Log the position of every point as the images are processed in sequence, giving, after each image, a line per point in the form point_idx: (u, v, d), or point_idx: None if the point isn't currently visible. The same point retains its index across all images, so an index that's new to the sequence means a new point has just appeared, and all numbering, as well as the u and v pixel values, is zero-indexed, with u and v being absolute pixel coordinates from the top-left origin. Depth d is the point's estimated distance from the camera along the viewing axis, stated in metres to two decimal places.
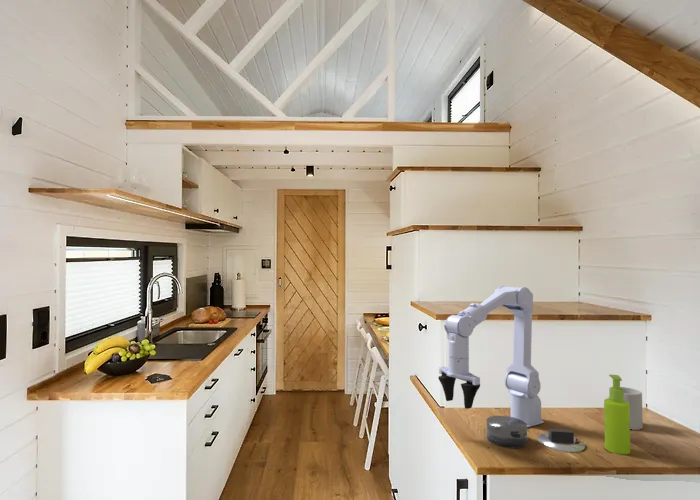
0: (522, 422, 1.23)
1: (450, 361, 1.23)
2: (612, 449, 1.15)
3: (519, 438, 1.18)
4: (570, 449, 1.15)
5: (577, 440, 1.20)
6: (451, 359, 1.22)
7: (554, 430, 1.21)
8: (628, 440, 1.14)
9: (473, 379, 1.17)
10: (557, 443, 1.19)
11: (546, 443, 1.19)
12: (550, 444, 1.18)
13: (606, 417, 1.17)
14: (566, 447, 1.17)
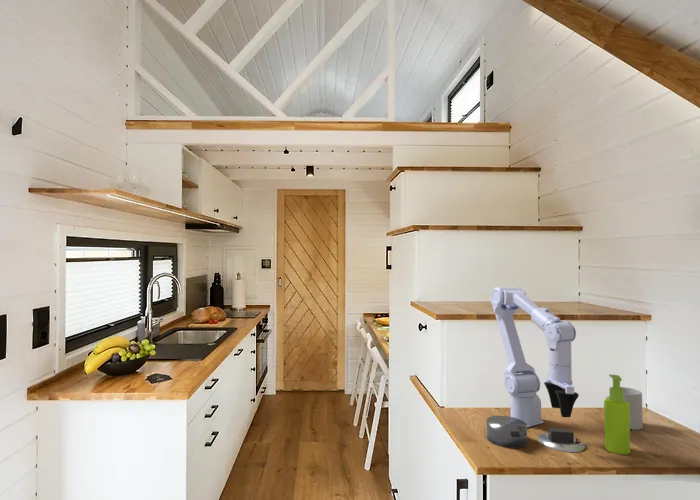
0: (522, 422, 1.23)
1: (549, 367, 1.22)
2: (612, 449, 1.15)
3: (519, 438, 1.18)
4: (570, 449, 1.15)
5: (577, 440, 1.20)
6: (550, 365, 1.22)
7: (554, 430, 1.21)
8: (628, 440, 1.14)
9: (565, 387, 1.15)
10: (557, 443, 1.19)
11: (546, 443, 1.19)
12: (550, 444, 1.18)
13: (606, 417, 1.17)
14: (566, 447, 1.17)
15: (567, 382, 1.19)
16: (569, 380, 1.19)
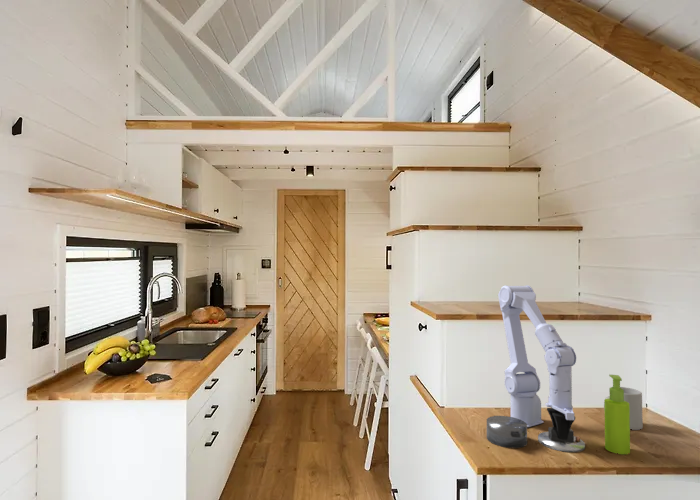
0: (522, 422, 1.23)
1: None
2: (612, 449, 1.15)
3: (519, 438, 1.18)
4: (570, 448, 1.15)
5: (577, 439, 1.20)
6: (550, 389, 1.22)
7: (554, 429, 1.21)
8: (628, 440, 1.14)
9: (565, 413, 1.15)
10: (557, 442, 1.19)
11: (546, 442, 1.19)
12: (550, 443, 1.18)
13: (606, 417, 1.17)
14: (565, 445, 1.17)
15: (567, 407, 1.18)
16: (569, 405, 1.19)
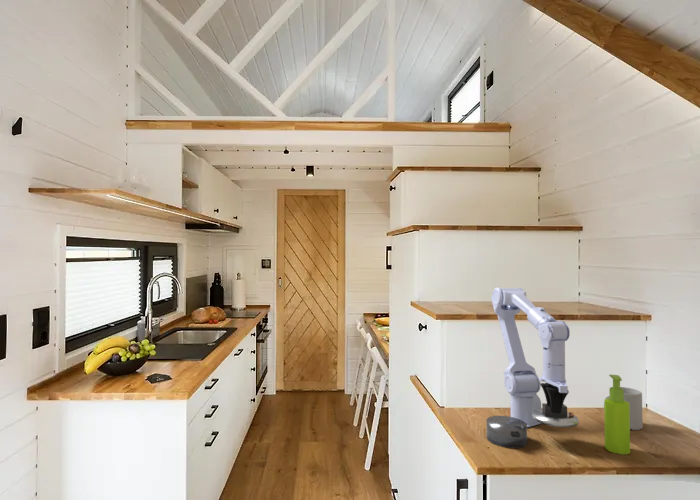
0: (522, 422, 1.23)
1: (543, 366, 1.23)
2: (612, 449, 1.15)
3: (519, 438, 1.18)
4: (564, 422, 1.16)
5: (571, 414, 1.20)
6: (543, 364, 1.22)
7: (548, 405, 1.21)
8: (628, 440, 1.14)
9: (559, 386, 1.15)
10: (551, 417, 1.20)
11: (540, 417, 1.20)
12: (544, 418, 1.19)
13: (606, 417, 1.17)
14: (559, 420, 1.17)
15: (561, 381, 1.19)
16: (563, 379, 1.19)
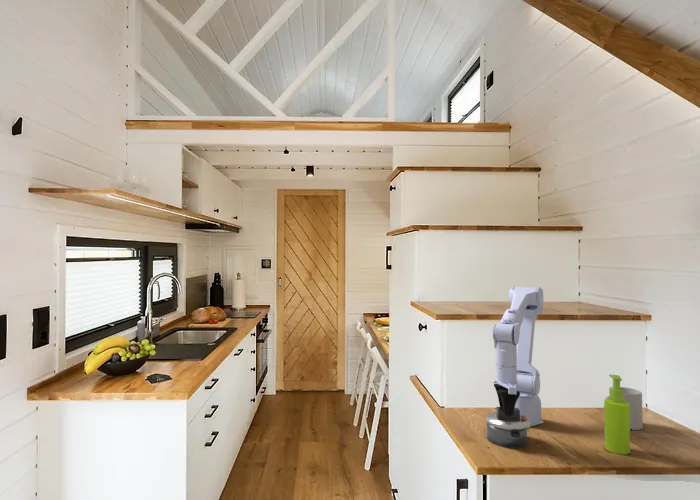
0: None
1: (496, 368, 1.24)
2: (612, 449, 1.15)
3: (519, 438, 1.18)
4: (514, 426, 1.17)
5: (523, 418, 1.22)
6: (496, 366, 1.24)
7: (501, 408, 1.23)
8: (628, 440, 1.14)
9: (508, 388, 1.17)
10: (503, 421, 1.21)
11: (492, 421, 1.21)
12: (496, 422, 1.20)
13: (606, 417, 1.17)
14: (511, 424, 1.19)
15: (511, 383, 1.20)
16: (514, 381, 1.21)
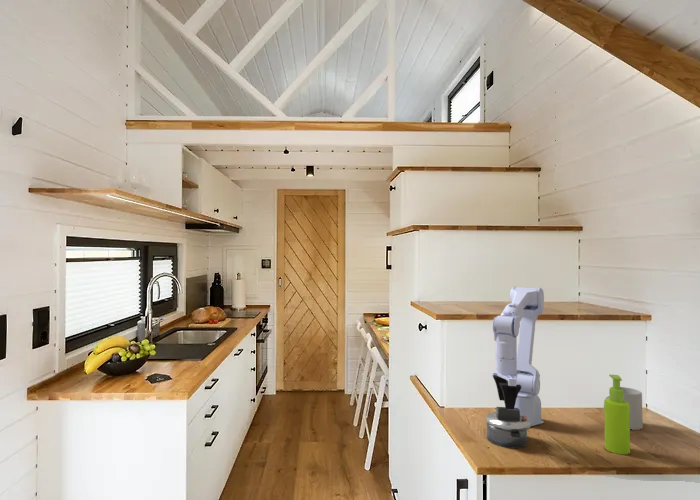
0: None
1: (496, 360, 1.24)
2: (612, 449, 1.15)
3: (519, 438, 1.18)
4: (514, 426, 1.17)
5: (523, 418, 1.22)
6: (496, 358, 1.24)
7: (501, 408, 1.23)
8: (628, 440, 1.14)
9: (508, 379, 1.17)
10: (503, 421, 1.21)
11: (492, 421, 1.21)
12: (496, 422, 1.20)
13: (606, 417, 1.17)
14: (511, 424, 1.19)
15: (511, 375, 1.21)
16: (514, 373, 1.21)
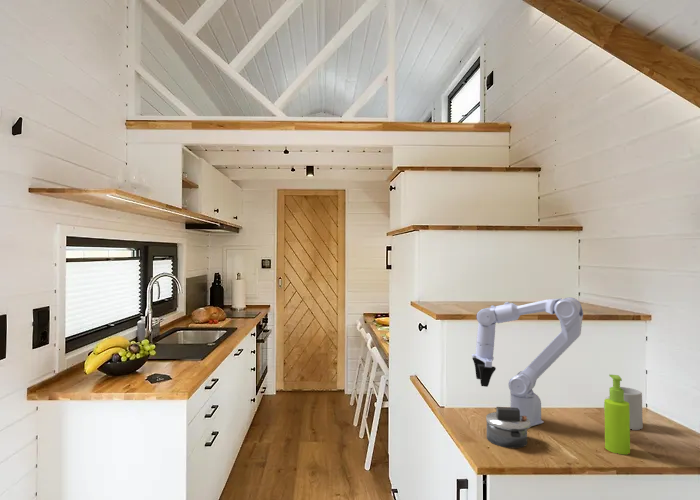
0: None
1: (476, 345, 1.45)
2: (612, 449, 1.15)
3: (519, 438, 1.18)
4: (514, 426, 1.17)
5: (523, 418, 1.22)
6: None
7: (501, 408, 1.23)
8: (628, 440, 1.14)
9: (485, 361, 1.38)
10: (503, 421, 1.21)
11: (492, 421, 1.21)
12: (496, 422, 1.20)
13: (606, 417, 1.17)
14: (511, 424, 1.19)
15: (488, 358, 1.42)
16: (490, 356, 1.42)
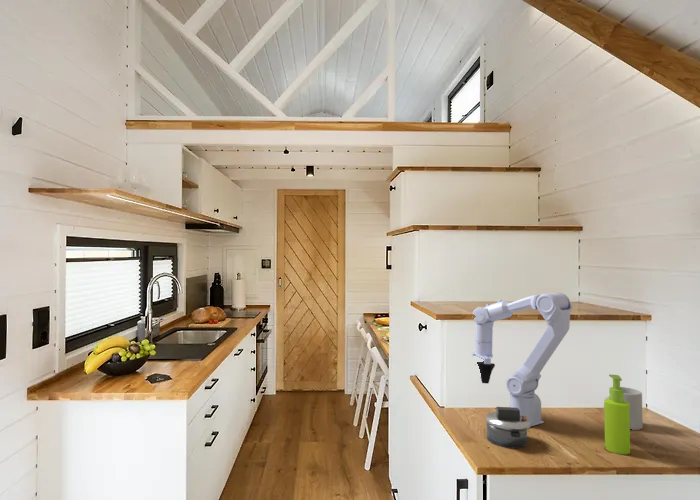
0: None
1: (475, 343, 1.50)
2: (612, 449, 1.15)
3: (519, 438, 1.18)
4: (514, 426, 1.17)
5: (523, 418, 1.22)
6: (475, 342, 1.49)
7: (501, 408, 1.23)
8: (628, 440, 1.14)
9: (484, 359, 1.42)
10: (503, 421, 1.21)
11: (492, 421, 1.21)
12: (496, 422, 1.20)
13: (606, 417, 1.17)
14: (511, 424, 1.19)
15: (487, 355, 1.46)
16: (489, 354, 1.46)
